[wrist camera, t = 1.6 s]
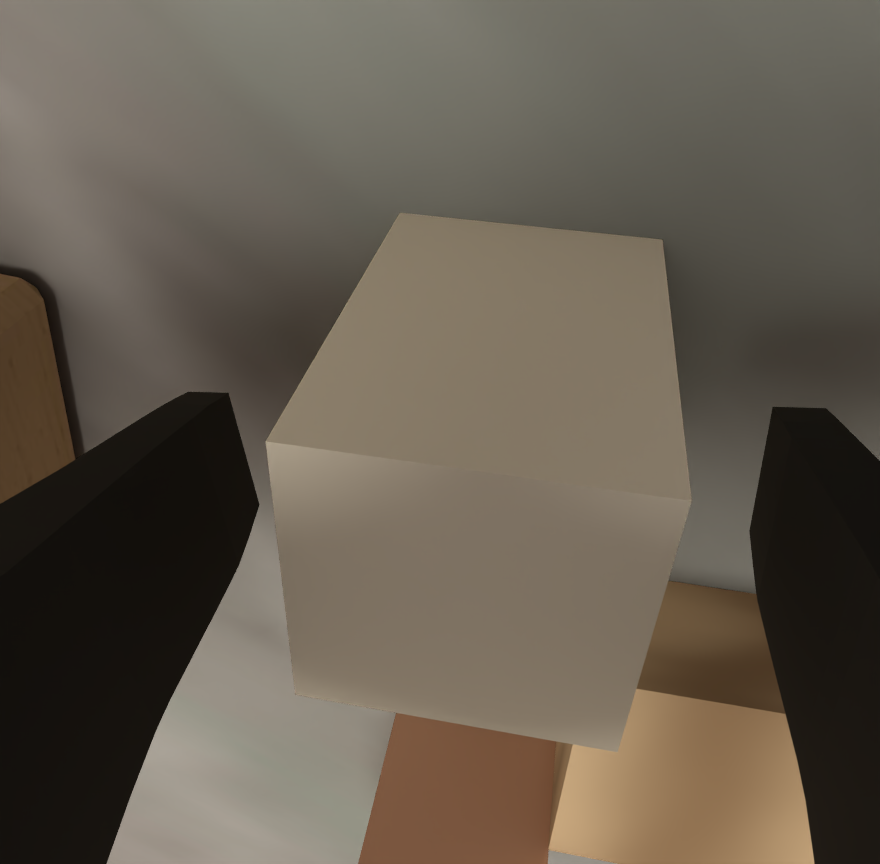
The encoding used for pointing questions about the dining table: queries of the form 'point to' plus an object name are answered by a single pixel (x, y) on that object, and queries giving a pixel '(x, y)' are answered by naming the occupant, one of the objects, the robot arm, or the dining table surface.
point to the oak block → (691, 751)
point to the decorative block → (28, 392)
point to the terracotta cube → (460, 796)
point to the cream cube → (486, 481)
